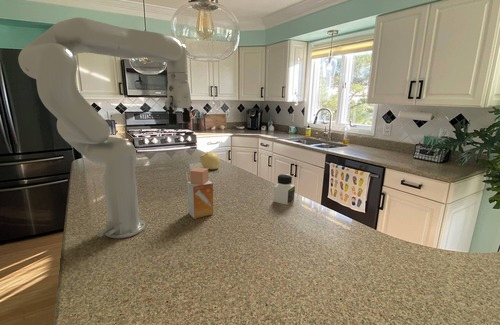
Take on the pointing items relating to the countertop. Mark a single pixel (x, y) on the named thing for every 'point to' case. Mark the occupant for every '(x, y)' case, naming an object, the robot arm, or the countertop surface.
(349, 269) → the countertop surface
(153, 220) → the countertop surface
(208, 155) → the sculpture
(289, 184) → the medicine bottle
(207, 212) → the small box
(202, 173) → the terracotta block
